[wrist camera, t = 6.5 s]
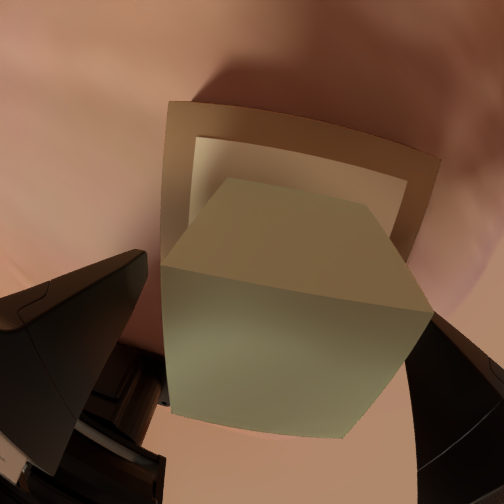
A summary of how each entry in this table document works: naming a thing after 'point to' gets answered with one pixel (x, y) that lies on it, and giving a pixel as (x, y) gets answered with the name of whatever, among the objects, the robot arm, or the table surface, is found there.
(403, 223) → the walnut base
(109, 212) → the table surface
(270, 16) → the table surface
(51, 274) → the table surface
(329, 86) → the table surface
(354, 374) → the sage block
